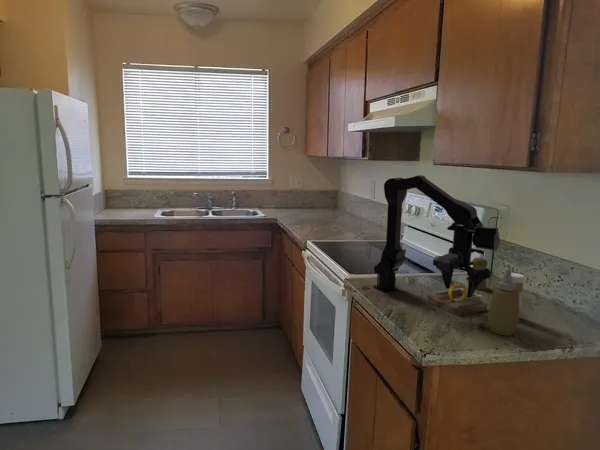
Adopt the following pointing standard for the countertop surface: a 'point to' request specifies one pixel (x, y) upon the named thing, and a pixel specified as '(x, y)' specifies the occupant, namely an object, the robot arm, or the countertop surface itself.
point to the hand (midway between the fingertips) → (458, 292)
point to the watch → (454, 287)
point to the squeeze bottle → (504, 307)
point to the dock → (458, 302)
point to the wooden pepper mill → (482, 263)
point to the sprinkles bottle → (518, 285)
